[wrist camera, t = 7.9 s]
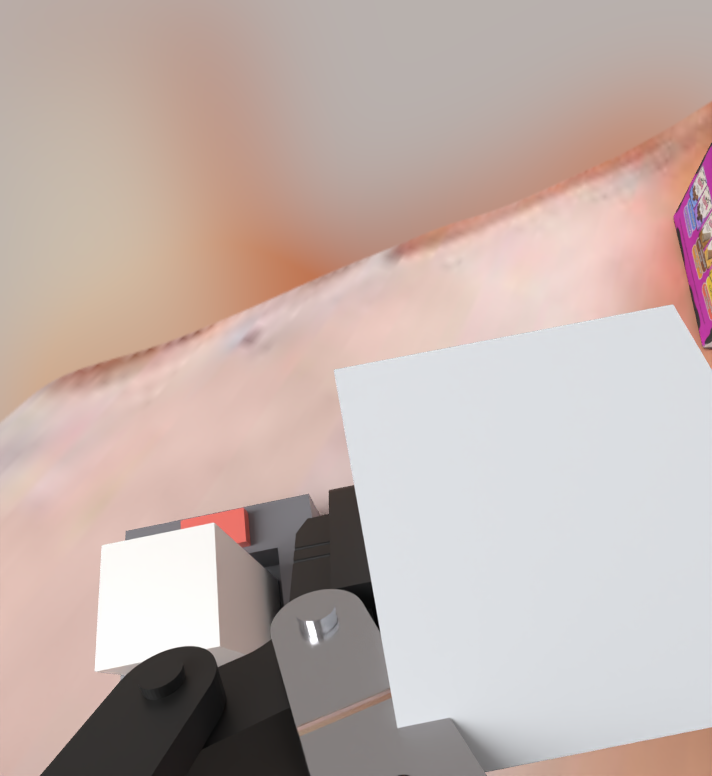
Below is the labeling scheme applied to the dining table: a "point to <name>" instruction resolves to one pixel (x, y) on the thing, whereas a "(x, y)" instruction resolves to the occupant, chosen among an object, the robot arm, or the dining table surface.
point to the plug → (541, 533)
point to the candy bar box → (698, 244)
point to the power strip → (197, 584)
